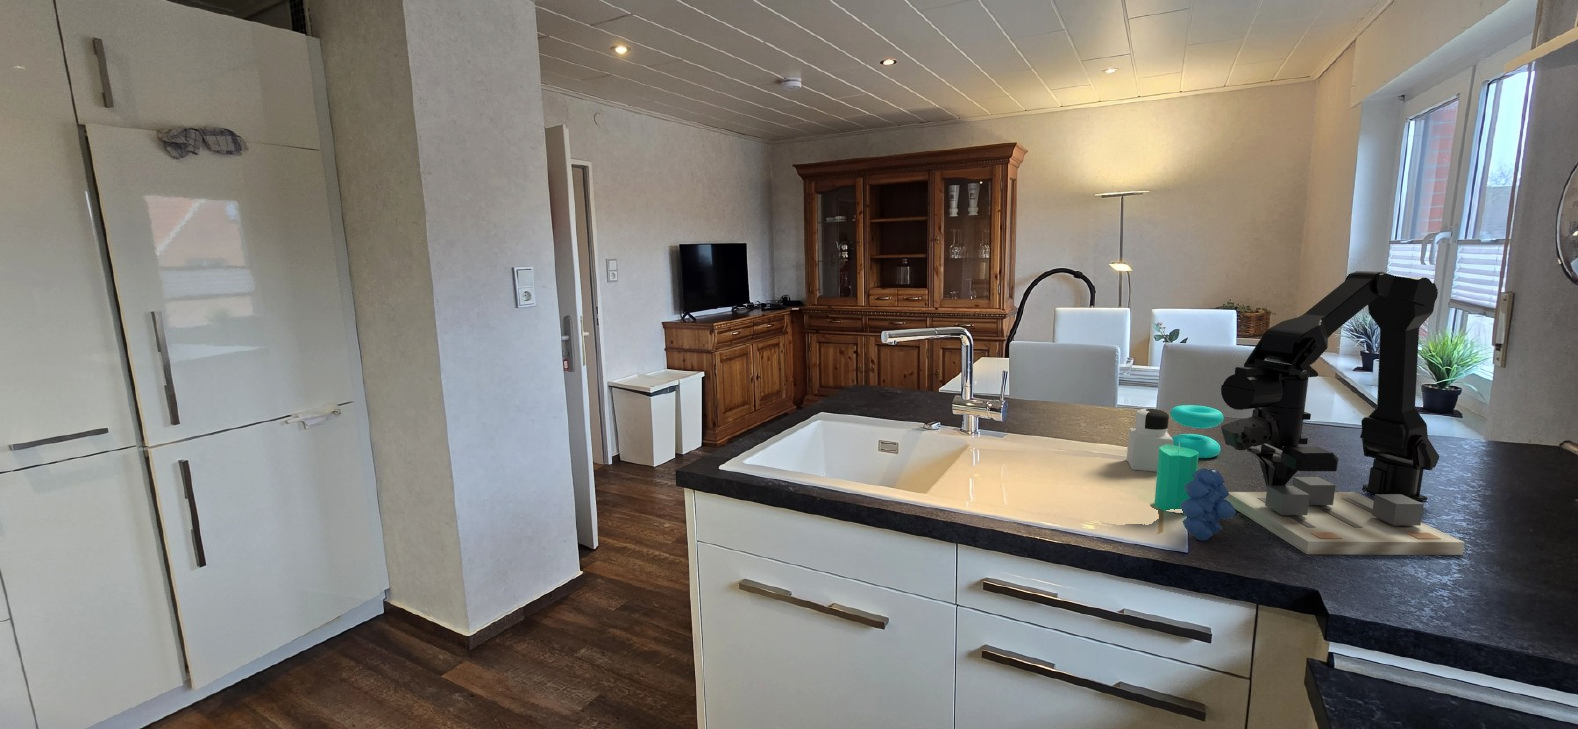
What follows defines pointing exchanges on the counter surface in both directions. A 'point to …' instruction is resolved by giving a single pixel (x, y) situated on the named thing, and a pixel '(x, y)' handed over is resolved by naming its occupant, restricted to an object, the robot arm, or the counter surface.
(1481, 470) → the counter surface
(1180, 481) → the candle
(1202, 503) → the grapes
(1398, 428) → the robot arm
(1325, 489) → the tab middle
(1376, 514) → the grey boxy piece
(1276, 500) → the tab far
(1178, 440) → the donuts
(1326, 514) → the switch panel
